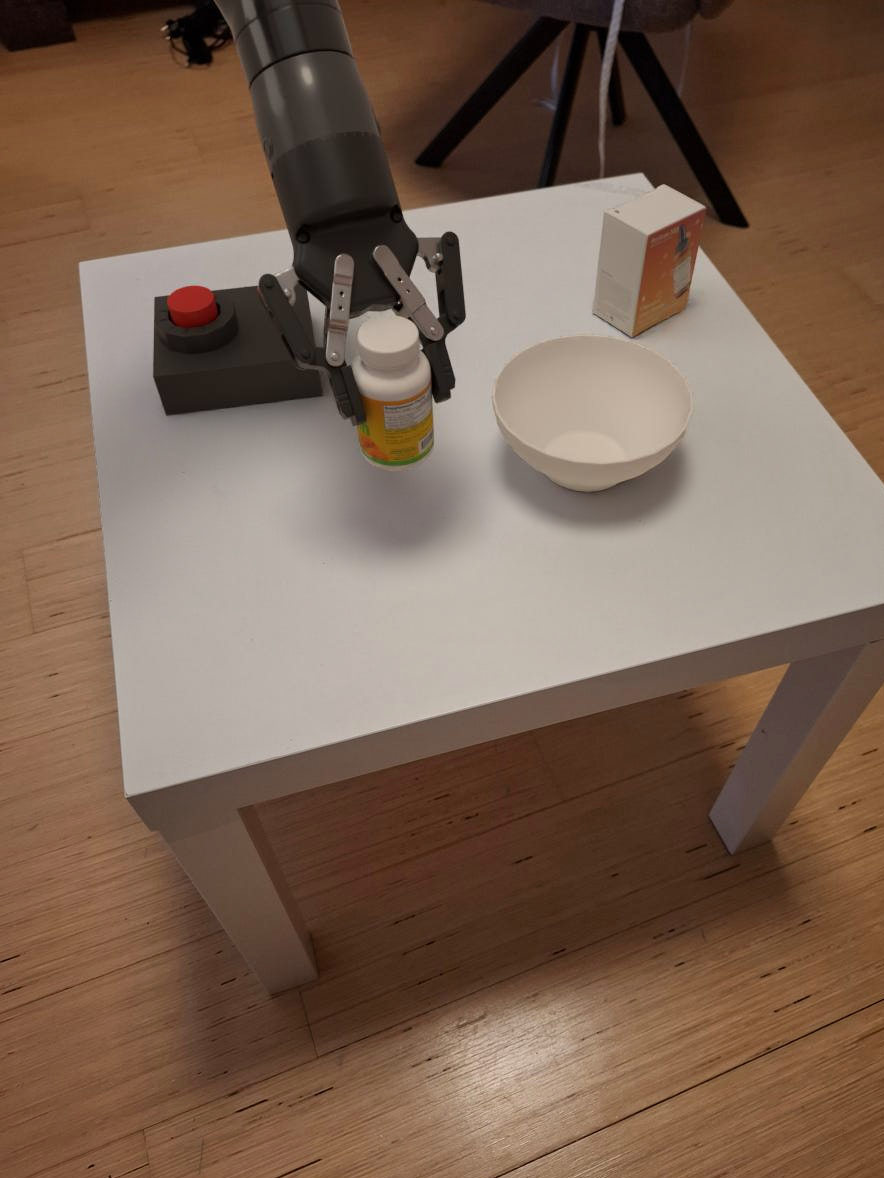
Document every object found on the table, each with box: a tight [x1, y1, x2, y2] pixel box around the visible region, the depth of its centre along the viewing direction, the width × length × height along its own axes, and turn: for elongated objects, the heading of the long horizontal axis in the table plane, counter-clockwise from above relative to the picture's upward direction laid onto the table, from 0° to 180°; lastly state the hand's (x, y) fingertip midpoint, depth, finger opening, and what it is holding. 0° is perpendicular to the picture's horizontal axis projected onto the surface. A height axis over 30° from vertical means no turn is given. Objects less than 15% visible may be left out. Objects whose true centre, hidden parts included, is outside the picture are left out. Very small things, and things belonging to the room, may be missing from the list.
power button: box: [167, 285, 218, 328], centre depth 82 cm, size 4×4×2 cm
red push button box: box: [152, 283, 324, 416], centre depth 86 cm, size 14×12×6 cm
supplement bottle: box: [351, 314, 435, 472], centre depth 64 cm, size 5×5×10 cm
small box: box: [592, 183, 707, 338], centre depth 89 cm, size 8×6×10 cm
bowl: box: [491, 333, 695, 493], centre depth 77 cm, size 16×16×7 cm
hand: (401, 411), depth 64 cm, fingers closed on supplement bottle, 5 cm apart
